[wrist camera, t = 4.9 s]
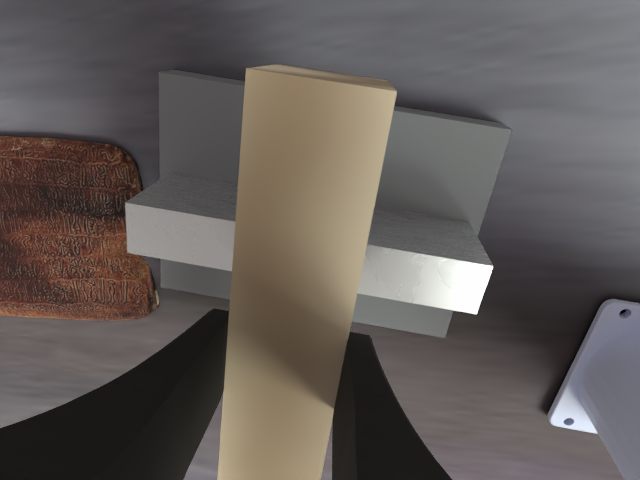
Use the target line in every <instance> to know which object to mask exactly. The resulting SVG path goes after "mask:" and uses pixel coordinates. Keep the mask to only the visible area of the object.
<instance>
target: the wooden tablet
mask: <svg viewBox="0 0 640 480" xmlns="http://www.w3.org/2000/svg"><path fill="white" fill-rule="evenodd" d="M141 191H143V188H142V182H141V178H140V174H139V171H138V167H137V165H136V163H135V162H134V161H133V159H132V158H131V156H130V155H129V154H127V153H126V152H125V151H124V150H123V149H121V148H118V147H115V146H113V145H110V144H101V143H90V142H86V141H76V140H66V139H54V138H37V137H10V136H0V315H5V316H21V317H41V318H59V319H77V320H105V321H119V320H131V319H139V318H143V317H146V316H149V315H151V314H152V313H153V312H154V311H155V310H156V309H157V308H158V307H159V297H158V293H157V289H156V286H155V282H154V278H153V276H152V272H151V270H150V268H149V265H148V264H147V263H146V261H145V260H144V259H143V258H142V257H141V256H140V255H137V254H131V253H127V232H126V210H125V202H127V201H128V200H130V199H131V198H133V197H134V196H136V195H137V194H139V193H140V192H141Z"/></svg>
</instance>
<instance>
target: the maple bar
mask: <svg viewBox="0 0 640 480" xmlns="http://www.w3.org/2000/svg"><path fill="white" fill-rule="evenodd" d="M396 95H397V91H396V90H395V88H394V87H393V86H392V85H391V84H390V82H389V81H387V80H380V79H374V78H367V77H361V76H354V75H348V74H341V73H335V72H328V71H322V70H315V69H308V68H302V67H295V66H289V65H282V64H276V65H268V66H260V67H252V68H246V75H245V90H244V104H243V119H242V133H241V148H240V162H239V177H238V191H237V206H236V220H235V234H234V249H233V263H232V278H231V292H230V307H229V321H228V336H227V350H226V365H225V379H224V394H223V408H222V423H221V437H220V452H219V466H218V480H321V475H322V470H323V465H324V460H325V454H326V449H327V444H328V439H329V434H330V429H331V424H332V419H333V412H334V406H335V401H336V396H337V391H338V386H339V380H340V375H341V370H342V365H343V360H344V355H345V350H346V345H347V340H348V338H349V333H350V328H351V323H352V318H353V313H354V307H355V302H356V297H357V292H358V287H359V282H360V277H361V272H362V267H363V262H364V257H365V252H366V247H367V242H368V237H369V231H370V226H371V221H372V216H373V211H374V206H375V201H376V196H377V191H378V186H379V181H380V176H381V171H382V166H383V161H384V155H385V150H386V145H387V140H388V135H389V130H390V125H391V120H392V115H393V110H394V105H395V100H396Z"/></svg>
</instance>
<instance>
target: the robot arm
mask: <svg viewBox="0 0 640 480" xmlns="http://www.w3.org/2000/svg"><path fill="white" fill-rule="evenodd" d="M624 309H627V310H626V311H625V312H624V313H622V314H619V313H620V312H621V311H622V310H624ZM228 321H229V311H225V310H219V309H212V310H211V311H209V312H208V313H207V314H206V315H205V316H203V317H202V318H201V319H200V320H198V321H197V322H196V323H195V324H194V325H192V326H191V327H190V328H189V329H187V330H186V331H185V332H184V333H182V334H181V335H180V336H178V337H177V338H176V339H174V340H173V341H172V342H171V343H169V344H168V345H167V346H165V347H164V348H163V349H161V350H160V351H158V352H157V353H155V354H154V355H152V356H151V357H149V358H148V359H147V360H145V361H144V362H142V363H141V364H139V365H138V366H136V367H135V368H133V369H131V370H130V371H128V372H126V373H125V374H123V375H121V376H120V377H118V378H116V379H114V380H113V381H111V382H109V383H107V384H105V385H103V386H101V387H100V388H97V389H95V390H93V391H91V392H89V393H87V394H85V395H83V396H81V397H78V398H76V399H74V400H72V401H70V402H68V403H66V404H63V405H61V406H59V407H56V408H54V409H51V410H49V411H47V412H44V413H42V414H39V415H36V416H34V417H31V418H28V419H26V420H23V421H20V422H18V423H15V424H12V425H9V426H6V427H3V428H0V480H183V479H184V476H185V474H186V472H187V469H188V467H189V465H190V463H191V461H192V459H193V457H194V455H195V452H196V450H197V448H198V446H199V444H200V442H201V440H202V438H203V436H204V433H205V431H206V429H207V427H208V425H209V423H210V421H211V419H212V416H213V414H214V412H215V410H216V408H217V406H218V404H219V401H220V399H221V396H222V393H223V390H224V379H225V365H226V350H227V336H228ZM567 418H570V419H567ZM548 419H549V421H550V423H551V424H552V425H554V426H558V427H564V428H569V429H575V430H580V431H586V432H591V433H597V434H598V435H599V436H600V438H601V440H602V442H603V443H604V445H605V447H606V449H607V450H608V452H609V454H610V456H611V457H612V459H613V461H614V463H615V464H616V466H617V468H618V470H619V471H620V473H621V475H622V477H623V478H624V480H640V303H635V302H629V301H624V300H618V299H609V300H606V301H605V302H603V303H602V305H601V306H600V308H599V310H598V312H597V314H596V316H595V318H594V320H593V322H592V324H591V326H590V328H589V330H588V332H587V334H586V336H585V339H584V341H583V343H582V345H581V347H580V349H579V351H578V353H577V355H576V357H575V359H574V361H573V363H572V365H571V367H570V369H569V371H568V373H567V375H566V377H565V379H564V382H563V384H562V386H561V388H560V390H559V392H558V394H557V396H556V398H555V400H554V402H553V404H552V406H551V408H550V410H549V412H548ZM565 419H567V420H565ZM332 480H452V479H451V478H450V476H449V475H448V474H447V473H446V472H445V470H444V469H443V468H442V467H441V466H440V464H439V463H438V462H437V461H436V460H435V458H434V457H433V455H432V454H431V453H430V451H429V450H428V449H427V447H426V446H425V444H424V443H423V442H422V440H421V439H420V437H419V436H418V434H417V433H416V431H415V430H414V428H413V426H412V425H411V423H410V422H409V420H408V418H407V417H406V415H405V413H404V411H403V410H402V408H401V406H400V404H399V402H398V401H397V399H396V397H395V395H394V393H393V391H392V389H391V387H390V385H389V382H388V380H387V378H386V376H385V374H384V372H383V369H382V367H381V365H380V362H379V360H378V357H377V354H376V352H375V349H374V346H373V342H372V339H371V338H370V336H369V335H365V334H359V333H353V332H350V333H349V338H348V340H347V345H346V350H345V355H344V360H343V365H342V370H341V375H340V380H339V386H338V391H337V396H336V401H335V406H334V412H333V440H332Z"/></svg>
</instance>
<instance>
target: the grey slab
mask: <svg viewBox="0 0 640 480" xmlns="http://www.w3.org/2000/svg"><path fill="white" fill-rule="evenodd" d="M158 74H159V173H160V178H162V177H163V176H165V175H166V174H168V173H169V172H177V173H183V174H189V175H195V176H201V177H207V178H212V179H218V180H224V181H230V182H236V183H238V177H239V162H240V148H241V133H242V119H243V104H244V90H245V81H241V80H235V79H228V78H222V77H216V76H210V75H204V74H198V73H192V72H186V71H179V70H168V71H162V72H158ZM511 132H512V130H511V129H510V128H508V127H507V126H505V125H504V124H502V123H498V122H492V121H486V120H480V119H474V118H468V117H461V116H455V115H449V114H443V113H437V112H431V111H425V110H419V109H412V108H406V107H400V106H394V110H393V115H392V120H391V125H390V130H389V135H388V140H387V145H386V150H385V155H384V161H383V166H382V171H381V176H380V181H379V186H378V191H377V196H376V201H375V206H377V207H383V208H389V209H394V210H400V211H406V212H412V213H418V214H424V215H430V216H436V217H441V218H447V219H453V220H459V221H465V222H470V224H471V225H472V227H473V229H474V231H475V233H476V235H477V237H478V234H479V231H480V228H481V225H482V222H483V219H484V215H485V212H486V209H487V206H488V203H489V200H490V197H491V194H492V191H493V188H494V185H495V181H496V178H497V175H498V172H499V169H500V166H501V163H502V160H503V157H504V154H505V151H506V147H507V144H508V141H509V138H510V135H511ZM160 272H161V287H162V288H167V289H173V290H179V291H184V292H190V293H195V294H201V295H207V296H212V297H218V298H223V299H229V300H230V292H231V278H232V271H228V270H222V269H216V268H211V267H205V266H199V265H194V264H188V263H182V262H177V261H171V260H165V259H160ZM453 311H454V310H448V309H443V308H437V307H431V306H426V305H420V304H414V303H409V302H403V301H397V300H392V299H386V298H381V297H375V296H369V295H364V294H358V293H357V297H356V302H355V307H354V313H353V318H352V322H358V323H363V324H369V325H375V326H380V327H386V328H391V329H397V330H403V331H408V332H414V333H419V334H425V335H431V336H436V337H442V338H445V336H446V333H447V330H448V327H449V324H450V321H451V317H452V314H453Z"/></svg>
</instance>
